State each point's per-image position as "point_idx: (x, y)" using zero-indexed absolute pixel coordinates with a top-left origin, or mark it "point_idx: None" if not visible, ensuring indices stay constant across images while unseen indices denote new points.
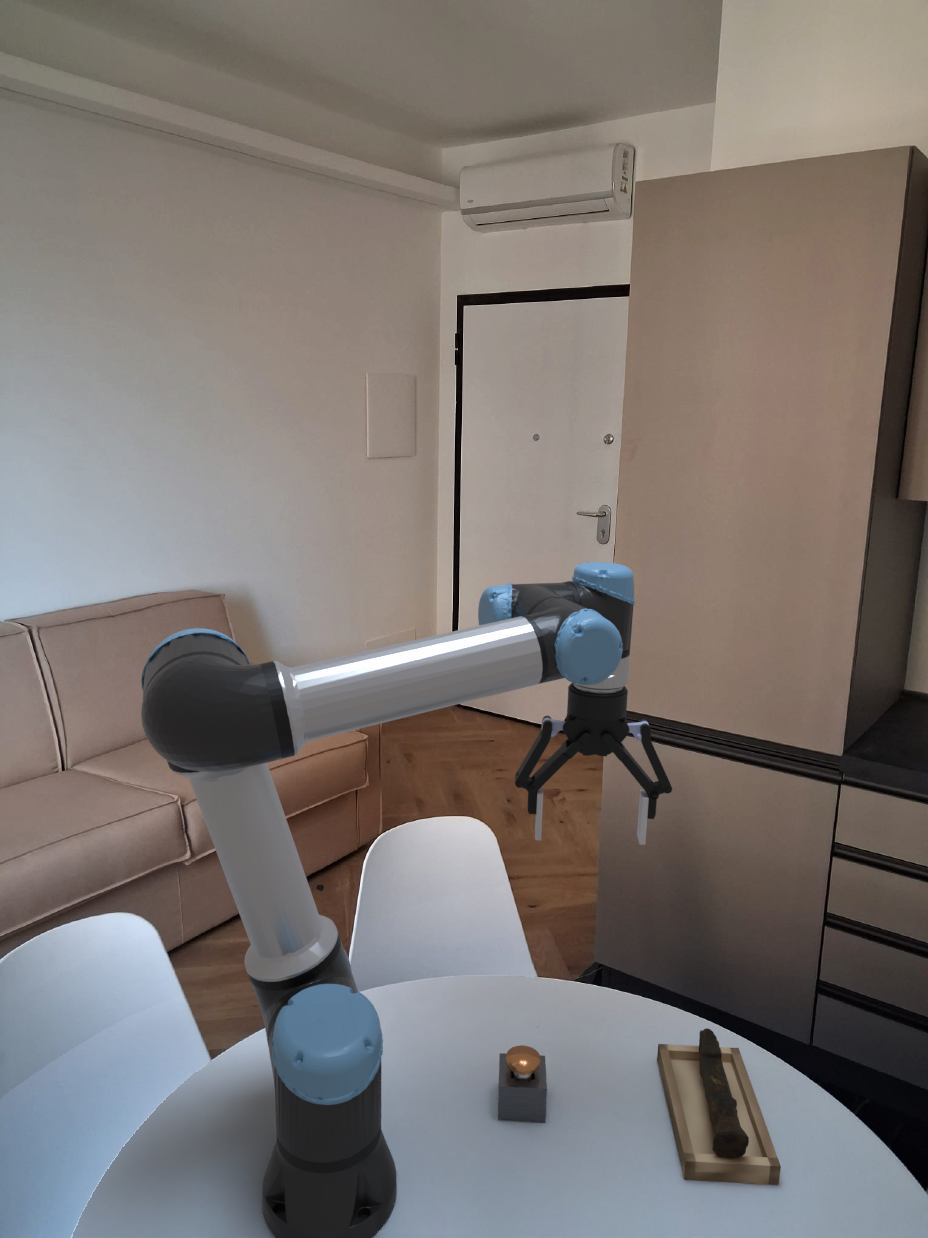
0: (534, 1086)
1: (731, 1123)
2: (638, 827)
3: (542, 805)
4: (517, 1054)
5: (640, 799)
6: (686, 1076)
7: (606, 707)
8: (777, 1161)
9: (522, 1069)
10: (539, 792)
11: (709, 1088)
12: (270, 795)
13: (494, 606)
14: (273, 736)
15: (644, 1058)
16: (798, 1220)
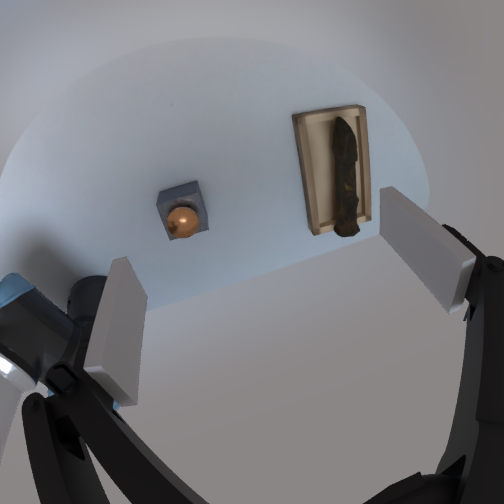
0: (198, 230)
1: (352, 226)
2: (395, 219)
3: (138, 373)
4: (176, 223)
5: (444, 267)
6: (318, 140)
7: None
8: (370, 217)
9: (186, 237)
10: (119, 399)
11: (341, 194)
12: None
13: None
14: None
15: (280, 115)
16: (369, 233)
